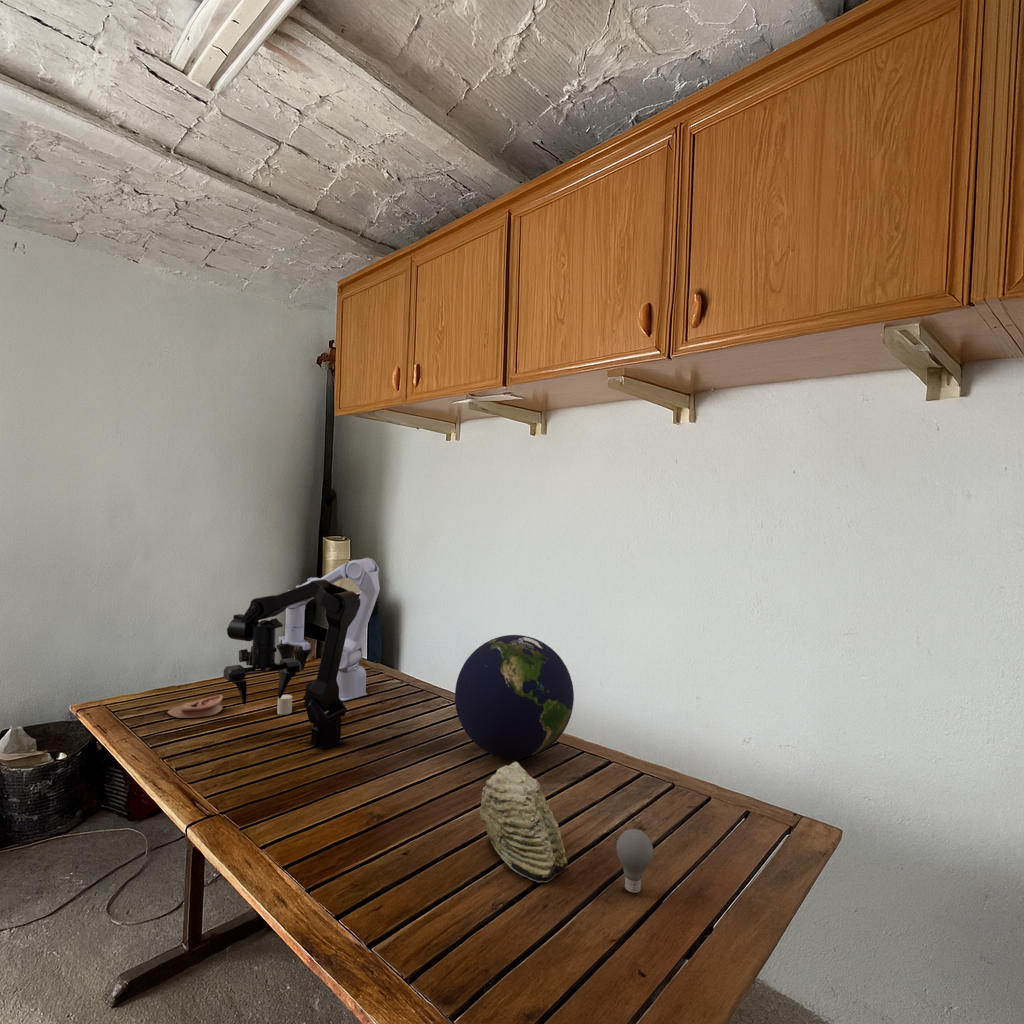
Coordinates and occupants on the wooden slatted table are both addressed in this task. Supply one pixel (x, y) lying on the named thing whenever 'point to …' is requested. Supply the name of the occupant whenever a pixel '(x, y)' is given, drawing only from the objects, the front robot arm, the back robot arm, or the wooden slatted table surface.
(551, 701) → the globe
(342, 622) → the front robot arm
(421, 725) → the wooden slatted table surface
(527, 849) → the fossil
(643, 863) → the light bulb
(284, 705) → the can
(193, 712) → the anatomical model
